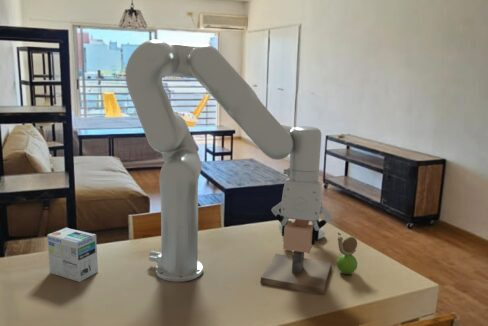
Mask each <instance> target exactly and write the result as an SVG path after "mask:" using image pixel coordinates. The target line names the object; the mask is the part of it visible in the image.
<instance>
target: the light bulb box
mask: <svg viewBox="0 0 488 326" xmlns="http://www.w3.org/2000/svg"><path fill="white" fill-rule="evenodd" d="M47 247H48V265H49V273H50V274H52V275H57V276H59V277H63V278H66V279H68V280H72V281H76V282H78V283H80V282H82V281H84V280H86V279H87V278H89V277H91V276H93V275H95V274H97V273H98V272H99V269H98V265H99V264H98V247H97V234H95V233H91V232H86V231H82V230H77V229H74V228H69V227H64V228H62V229H59V230H56V231H53V232H51V233H48V234H47Z"/></svg>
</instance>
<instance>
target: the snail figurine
mask: <svg viewBox="0 0 488 326" xmlns="http://www.w3.org/2000/svg"><path fill="white" fill-rule="evenodd" d="M341 235H342V234H341V232H337V241H338V243H337V245H338V250H339V252H340V256H338V258H337V260H336V261H337V262H336V266H337V268H338V270H339V271H340V273H342V274H345V275H350V274H352V273H354V272H355V271H357V268H358V260H357V258H356V257H355V256H354V255H353V254H354V253H356V251H357V250H356V249H357V247H358V240H357V239H356V238H355V237H354V236H348V237H346V238H343V237H342V236H341Z"/></svg>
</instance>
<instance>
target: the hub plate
mask: <svg viewBox="0 0 488 326" xmlns="http://www.w3.org/2000/svg"><path fill="white" fill-rule="evenodd" d="M331 268H332V262H329V261H324V260H317V259H311V258H306V257H305V252H299V251H293V252H292V255H288V254H280V253H274V256H273V257H272V259H271V260H270V262H269V263H268V265H267V267H266V269H265V270H264V271H263V273H262V275H261V277H260V283H261V284H265V285H271V286H276V287H281V288H287V289H292V290H296V291H298V290H299V291H301V292H302V291H304V292H307V293H308V292H309V293H313V294H318V295H324V292H325V290H326V289H325V288H326V285H327V281H328V279H329V277H330V276H329V275H330V273H331V270H332V269H331Z"/></svg>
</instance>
